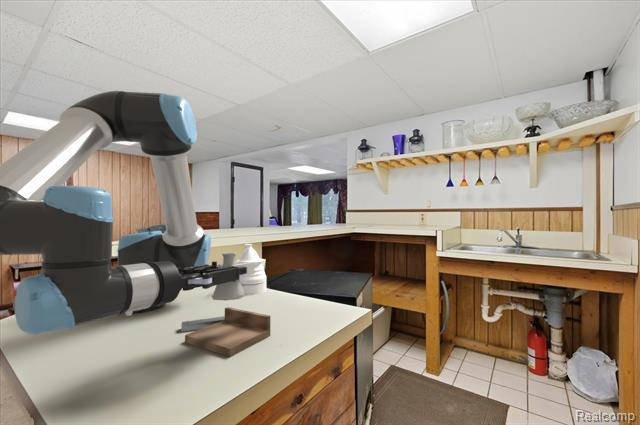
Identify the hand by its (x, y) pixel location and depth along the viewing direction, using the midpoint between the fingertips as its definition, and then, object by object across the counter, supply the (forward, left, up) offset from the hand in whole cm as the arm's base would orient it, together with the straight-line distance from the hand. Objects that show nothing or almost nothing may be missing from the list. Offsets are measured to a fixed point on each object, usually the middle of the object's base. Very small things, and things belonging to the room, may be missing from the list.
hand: (246, 267), depth 69 cm
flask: (0, -6, -6) cm, 8 cm away
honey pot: (-29, +31, -15) cm, 45 cm away
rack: (0, -5, -15) cm, 16 cm away
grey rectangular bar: (-11, -3, -16) cm, 19 cm away
